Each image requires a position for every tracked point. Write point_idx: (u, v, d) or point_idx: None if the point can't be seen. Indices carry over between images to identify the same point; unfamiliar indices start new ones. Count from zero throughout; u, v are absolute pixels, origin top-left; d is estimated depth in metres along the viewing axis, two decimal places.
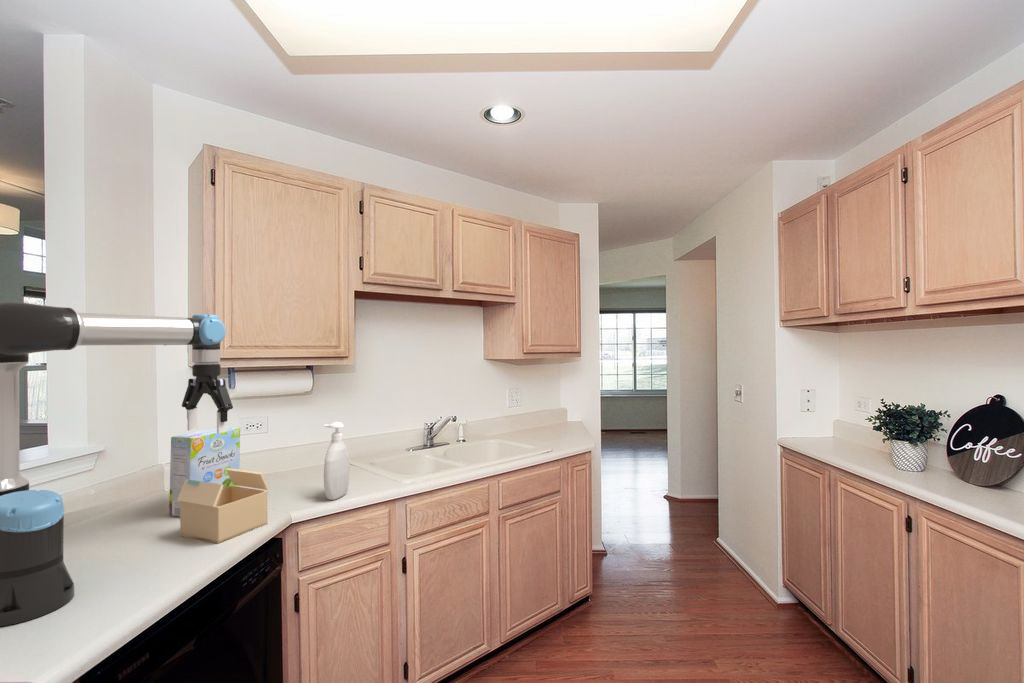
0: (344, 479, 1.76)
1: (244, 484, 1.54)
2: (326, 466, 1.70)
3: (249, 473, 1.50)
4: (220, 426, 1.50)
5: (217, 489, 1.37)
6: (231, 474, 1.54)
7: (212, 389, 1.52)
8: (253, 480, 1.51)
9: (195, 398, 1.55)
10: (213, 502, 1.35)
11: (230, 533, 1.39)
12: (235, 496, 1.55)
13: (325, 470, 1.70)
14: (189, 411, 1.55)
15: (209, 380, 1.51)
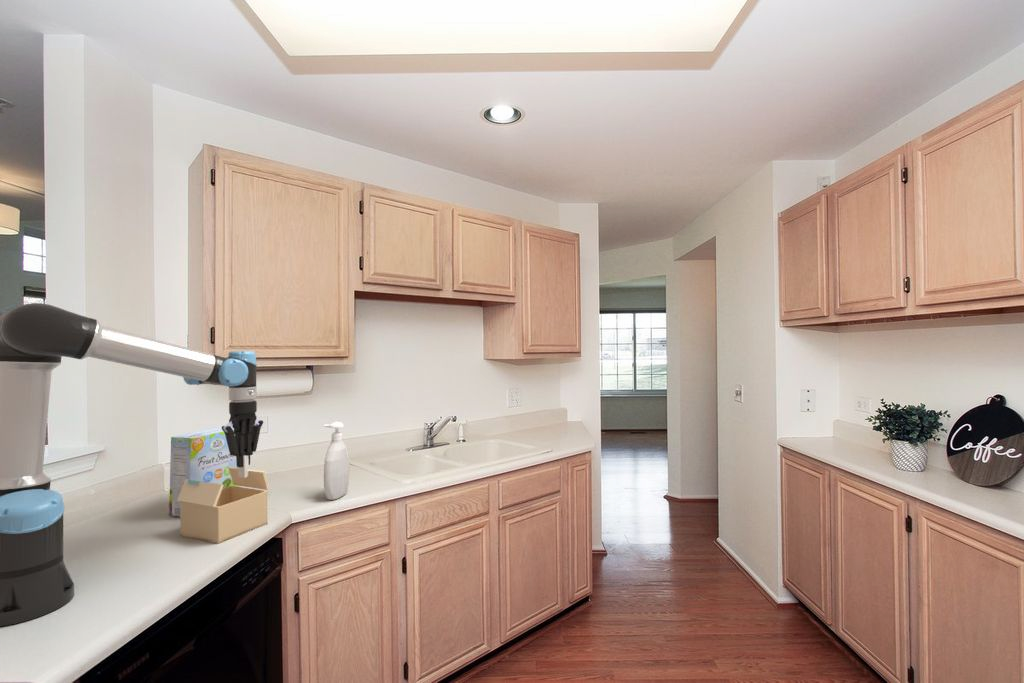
0: (344, 479, 1.76)
1: (244, 484, 1.54)
2: (326, 466, 1.70)
3: (251, 471, 1.51)
4: (239, 470, 1.51)
5: (217, 489, 1.37)
6: (233, 473, 1.55)
7: None
8: (254, 479, 1.52)
9: (243, 438, 1.52)
10: (213, 502, 1.35)
11: (230, 533, 1.39)
12: (235, 496, 1.55)
13: (325, 470, 1.70)
14: None
15: None
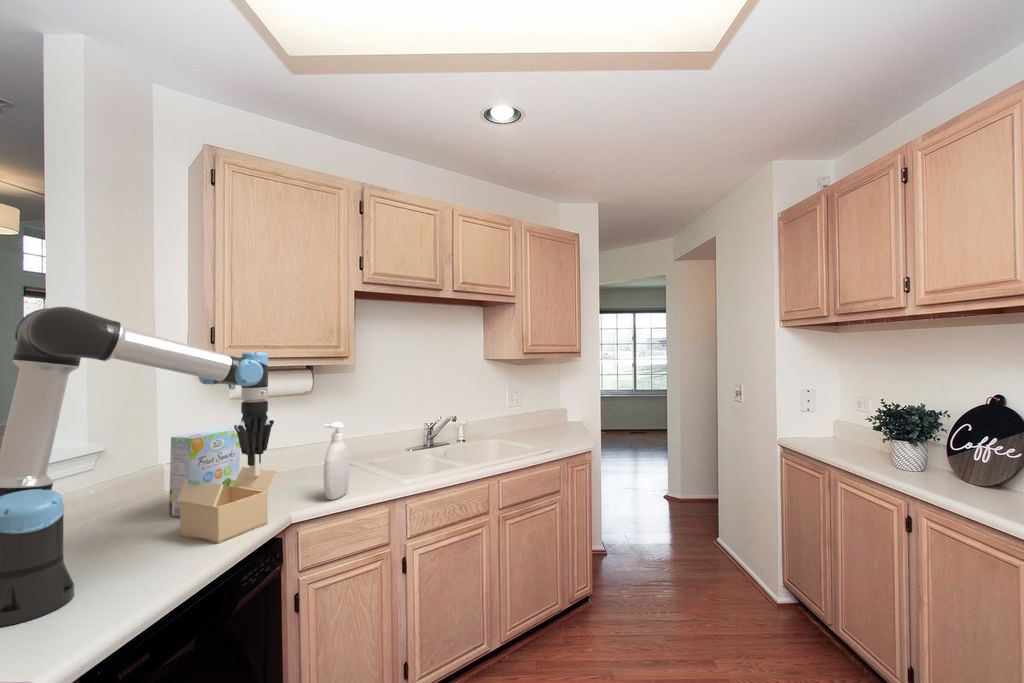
0: (344, 479, 1.76)
1: (246, 484, 1.55)
2: (326, 466, 1.70)
3: (264, 470, 1.56)
4: (250, 469, 1.55)
5: (217, 489, 1.37)
6: (243, 472, 1.58)
7: None
8: (261, 479, 1.54)
9: (255, 438, 1.56)
10: (213, 502, 1.35)
11: (230, 533, 1.39)
12: (235, 496, 1.55)
13: (325, 470, 1.70)
14: None
15: None
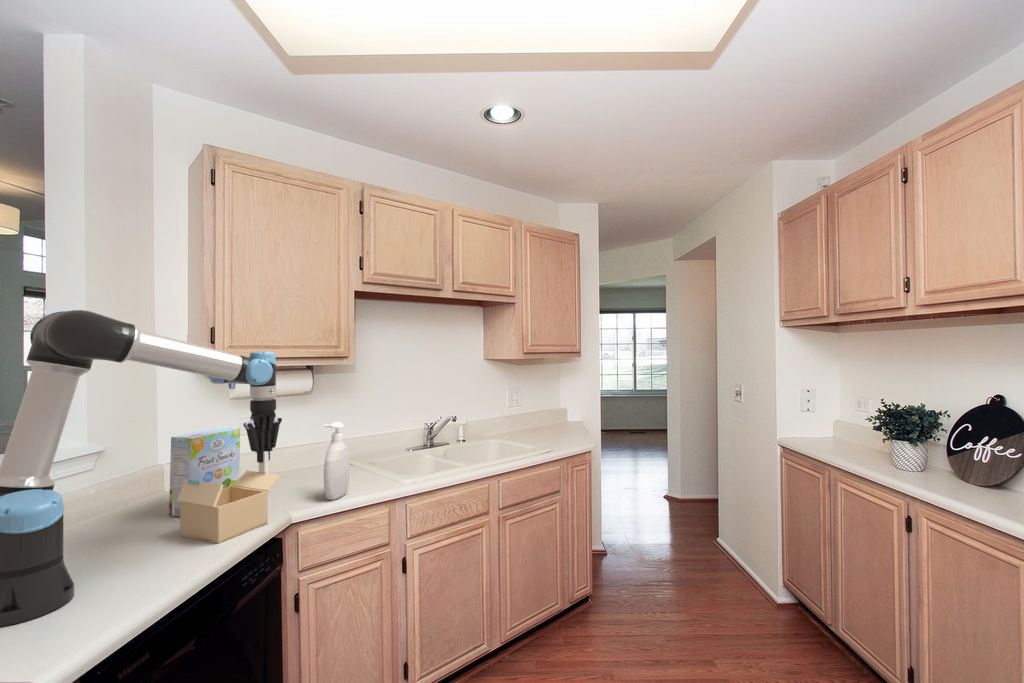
0: (344, 479, 1.76)
1: (247, 484, 1.55)
2: (326, 466, 1.70)
3: (268, 474, 1.57)
4: (259, 466, 1.58)
5: (217, 489, 1.37)
6: (246, 475, 1.59)
7: None
8: (263, 480, 1.55)
9: (263, 435, 1.59)
10: (213, 502, 1.35)
11: (230, 533, 1.39)
12: (235, 496, 1.55)
13: (325, 470, 1.70)
14: None
15: None
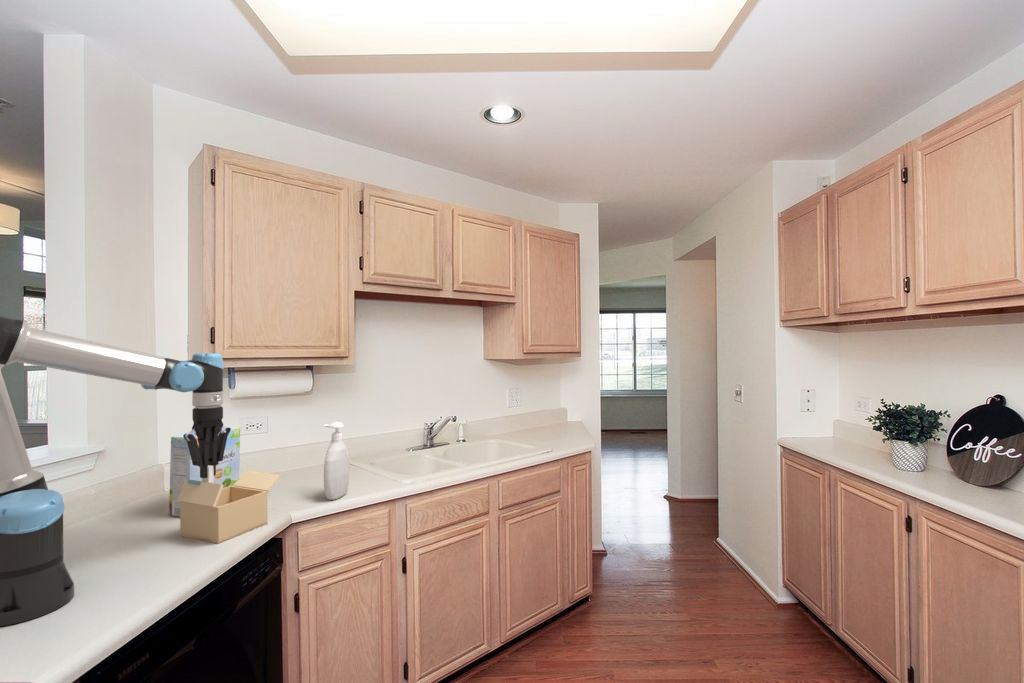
0: (344, 479, 1.76)
1: (247, 484, 1.55)
2: (326, 466, 1.70)
3: (268, 474, 1.57)
4: None
5: (217, 489, 1.37)
6: (246, 475, 1.59)
7: None
8: (263, 480, 1.55)
9: (208, 447, 1.42)
10: (213, 502, 1.35)
11: (230, 533, 1.39)
12: (235, 496, 1.55)
13: (325, 470, 1.70)
14: None
15: None
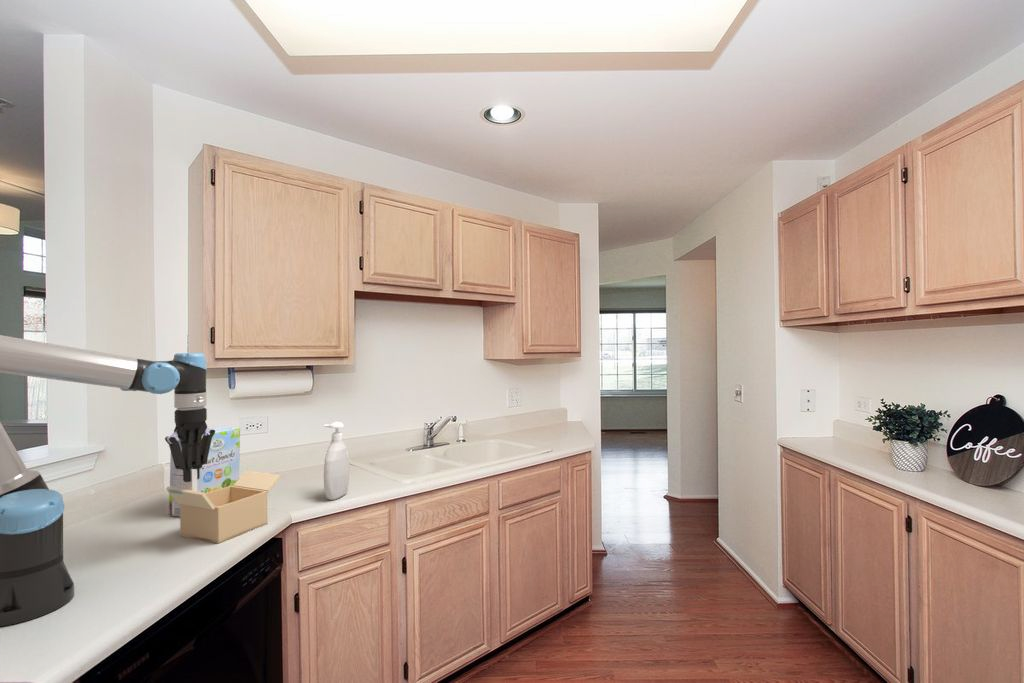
0: (344, 479, 1.76)
1: (247, 484, 1.55)
2: (326, 466, 1.70)
3: (268, 474, 1.57)
4: (187, 486, 1.36)
5: (202, 497, 1.32)
6: (246, 475, 1.59)
7: None
8: (263, 480, 1.55)
9: (192, 450, 1.37)
10: (210, 506, 1.34)
11: (230, 533, 1.39)
12: (235, 496, 1.55)
13: (325, 470, 1.70)
14: None
15: None
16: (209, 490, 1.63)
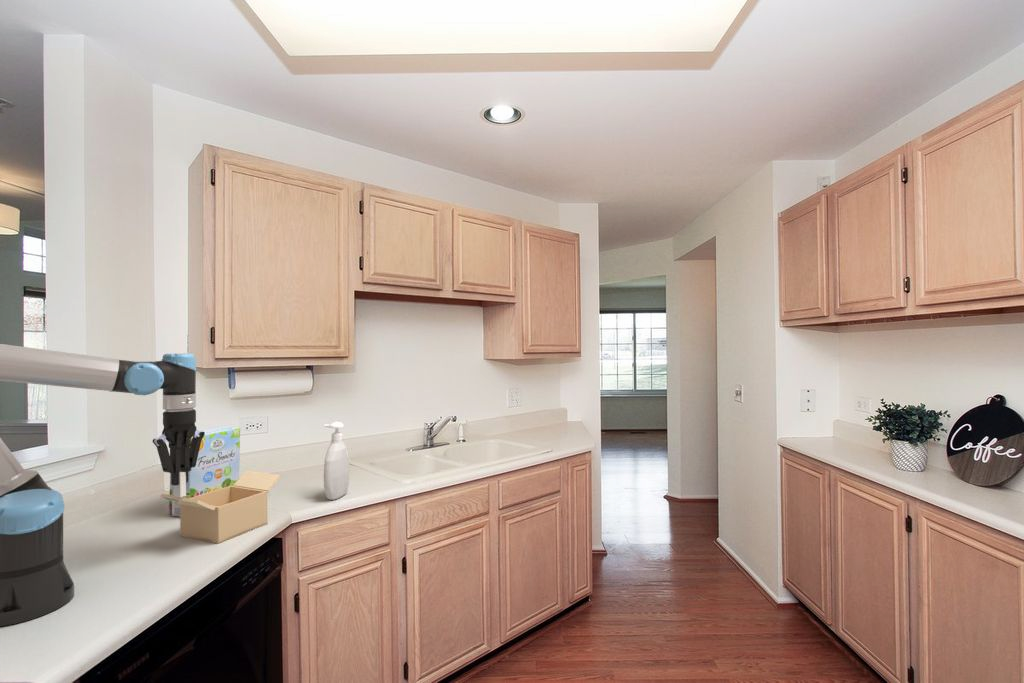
0: (344, 479, 1.76)
1: (247, 484, 1.55)
2: (326, 466, 1.70)
3: (268, 474, 1.57)
4: (175, 489, 1.33)
5: (198, 504, 1.31)
6: (246, 475, 1.59)
7: None
8: (263, 480, 1.55)
9: (180, 452, 1.34)
10: (209, 508, 1.34)
11: (230, 533, 1.39)
12: (235, 496, 1.55)
13: (325, 470, 1.70)
14: None
15: None
16: (209, 490, 1.63)
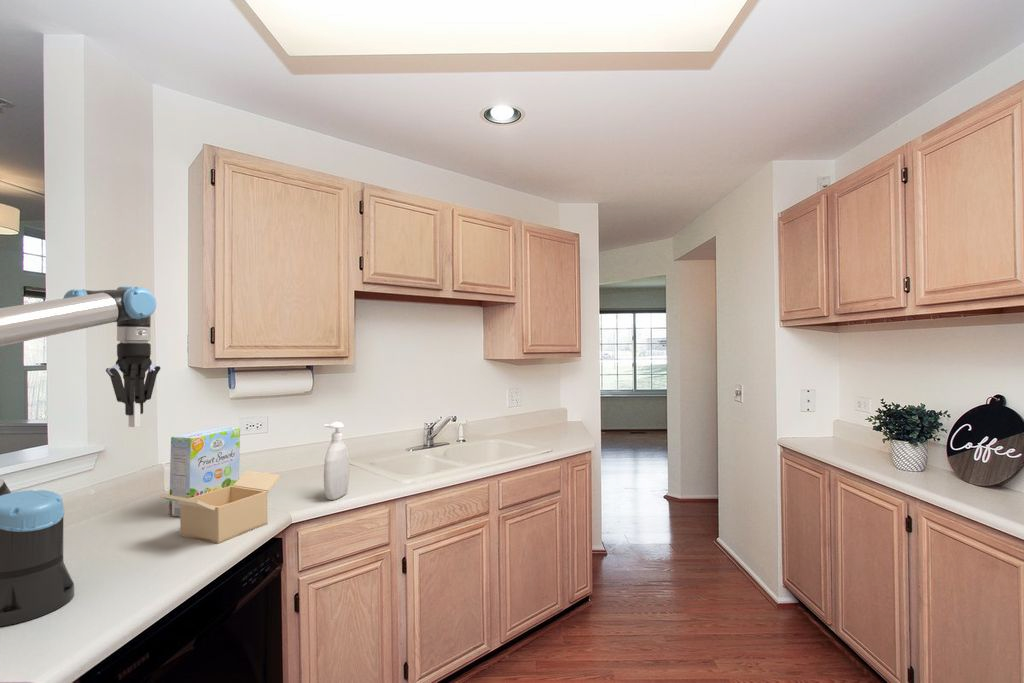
0: (344, 479, 1.76)
1: (247, 484, 1.55)
2: (326, 466, 1.70)
3: (268, 474, 1.57)
4: (129, 420, 1.37)
5: (198, 504, 1.31)
6: (246, 475, 1.59)
7: None
8: (263, 480, 1.55)
9: (135, 385, 1.38)
10: (209, 508, 1.34)
11: (230, 533, 1.39)
12: (235, 496, 1.55)
13: (325, 470, 1.70)
14: None
15: None
16: (209, 490, 1.63)
